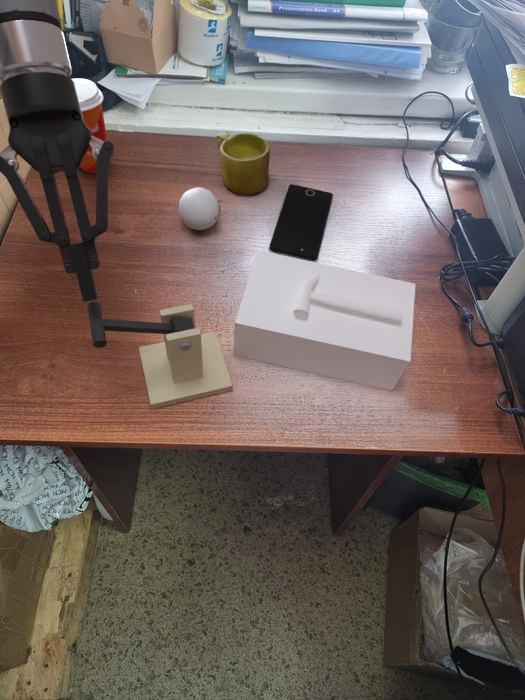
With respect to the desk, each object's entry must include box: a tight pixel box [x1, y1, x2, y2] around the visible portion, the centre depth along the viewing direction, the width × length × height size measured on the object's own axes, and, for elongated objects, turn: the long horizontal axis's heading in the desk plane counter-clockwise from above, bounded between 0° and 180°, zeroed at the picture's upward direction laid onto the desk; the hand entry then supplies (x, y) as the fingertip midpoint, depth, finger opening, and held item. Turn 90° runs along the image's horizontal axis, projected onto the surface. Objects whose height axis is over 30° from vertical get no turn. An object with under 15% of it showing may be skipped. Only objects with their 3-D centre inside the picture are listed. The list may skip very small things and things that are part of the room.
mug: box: [215, 131, 271, 196], centre depth 98 cm, size 12×10×10 cm
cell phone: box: [268, 183, 334, 262], centre depth 95 cm, size 9×18×1 cm, turn 166°
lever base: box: [138, 303, 234, 410], centre depth 71 cm, size 12×10×13 cm
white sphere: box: [177, 187, 221, 231], centre depth 91 cm, size 10×7×7 cm
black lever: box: [86, 300, 196, 349], centre depth 64 cm, size 13×6×2 cm, turn 107°
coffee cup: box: [71, 77, 108, 174], centre depth 94 cm, size 8×8×15 cm
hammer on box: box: [232, 249, 416, 391], centre depth 77 cm, size 14×25×11 cm, turn 78°
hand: (90, 299), depth 59 cm, fingers closed
